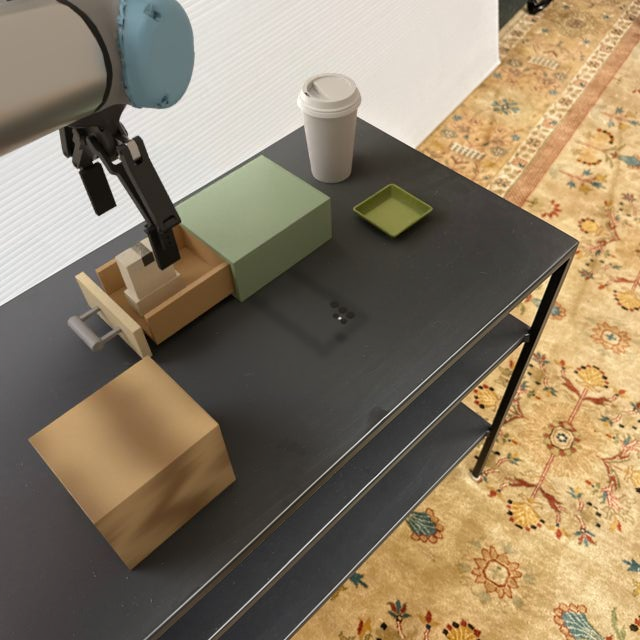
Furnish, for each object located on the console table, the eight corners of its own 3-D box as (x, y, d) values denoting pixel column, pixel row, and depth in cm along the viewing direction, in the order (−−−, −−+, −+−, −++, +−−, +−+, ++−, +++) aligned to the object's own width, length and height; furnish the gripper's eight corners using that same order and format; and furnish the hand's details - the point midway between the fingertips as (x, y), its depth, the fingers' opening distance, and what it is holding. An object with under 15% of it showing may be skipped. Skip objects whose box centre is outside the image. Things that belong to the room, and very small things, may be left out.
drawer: (116, 381, 79) (101, 353, 75) (60, 323, 86) (44, 294, 81) (244, 290, 88) (239, 260, 84) (186, 244, 95) (177, 213, 90)
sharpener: (142, 318, 84) (123, 270, 78) (129, 306, 86) (110, 258, 79) (185, 289, 87) (170, 241, 80) (172, 278, 89) (156, 229, 82)
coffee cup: (299, 156, 109) (293, 73, 97) (356, 150, 109) (356, 67, 97) (305, 192, 103) (299, 108, 91) (364, 186, 103) (366, 101, 91)
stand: (130, 570, 66) (93, 524, 56) (69, 492, 71) (27, 439, 62) (236, 479, 72) (219, 424, 62) (172, 414, 77) (147, 354, 68)
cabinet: (241, 302, 88) (233, 263, 82) (177, 251, 95) (166, 211, 89) (332, 237, 96) (330, 197, 90) (267, 194, 103) (261, 154, 97)
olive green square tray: (351, 218, 98) (351, 208, 97) (391, 192, 102) (391, 182, 100) (393, 247, 94) (393, 236, 92) (433, 218, 97) (434, 208, 96)
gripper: (188, 105, 57) (225, 270, 74) (48, 17, 69) (107, 176, 86) (117, 142, 54) (172, 306, 71) (-17, 44, 66) (57, 204, 82)
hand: (136, 235), depth 78 cm, fingers open, 13 cm apart
